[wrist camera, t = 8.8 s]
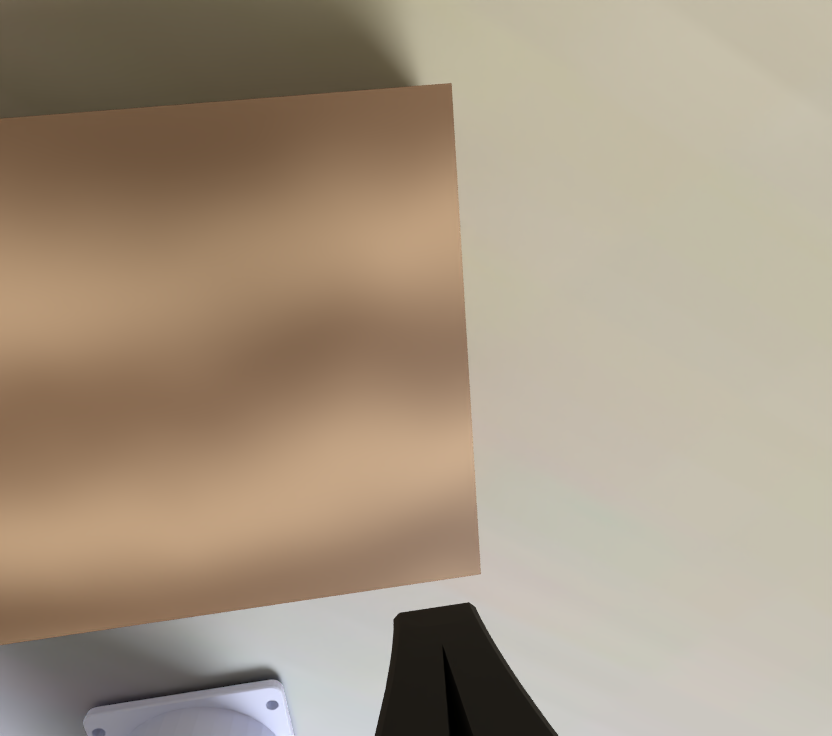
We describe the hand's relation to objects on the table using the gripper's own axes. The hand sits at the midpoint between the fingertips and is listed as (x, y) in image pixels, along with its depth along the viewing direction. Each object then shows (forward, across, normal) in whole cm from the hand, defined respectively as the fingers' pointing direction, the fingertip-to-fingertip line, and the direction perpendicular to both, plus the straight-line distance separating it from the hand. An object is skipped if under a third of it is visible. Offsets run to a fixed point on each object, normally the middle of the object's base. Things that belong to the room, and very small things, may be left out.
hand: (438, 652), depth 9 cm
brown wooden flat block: (+10, +6, -3) cm, 12 cm away
